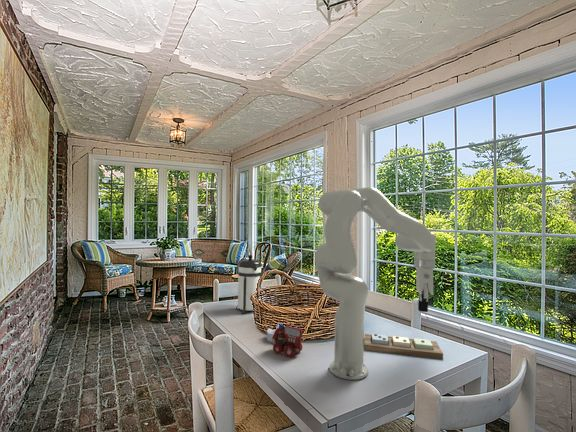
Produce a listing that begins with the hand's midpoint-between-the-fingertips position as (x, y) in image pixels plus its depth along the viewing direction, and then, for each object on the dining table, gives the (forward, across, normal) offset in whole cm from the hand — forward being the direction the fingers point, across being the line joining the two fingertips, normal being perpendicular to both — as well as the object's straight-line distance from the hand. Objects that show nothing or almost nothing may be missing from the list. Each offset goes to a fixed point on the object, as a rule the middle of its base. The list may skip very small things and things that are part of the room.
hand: (422, 311), depth 124 cm
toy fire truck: (+16, -17, +50) cm, 55 cm away
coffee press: (+16, +30, +83) cm, 90 cm away
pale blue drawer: (+15, 0, +16) cm, 22 cm away
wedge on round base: (+16, -5, +55) cm, 57 cm away
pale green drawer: (+15, 0, 0) cm, 15 cm away
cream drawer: (+15, 0, +8) cm, 17 cm away
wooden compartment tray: (+15, 0, +8) cm, 17 cm away
